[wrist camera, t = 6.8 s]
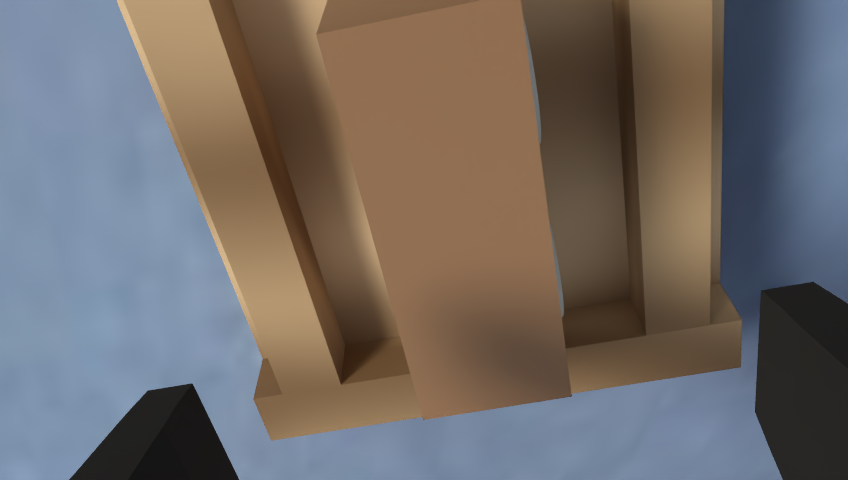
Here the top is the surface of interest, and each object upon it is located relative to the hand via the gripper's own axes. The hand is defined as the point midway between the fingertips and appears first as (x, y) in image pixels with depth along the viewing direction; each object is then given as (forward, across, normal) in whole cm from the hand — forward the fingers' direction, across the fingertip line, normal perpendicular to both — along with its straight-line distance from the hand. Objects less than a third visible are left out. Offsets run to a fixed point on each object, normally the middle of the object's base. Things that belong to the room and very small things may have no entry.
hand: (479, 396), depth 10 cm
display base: (+10, 0, 0) cm, 10 cm away
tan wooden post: (+8, 0, 0) cm, 8 cm away
